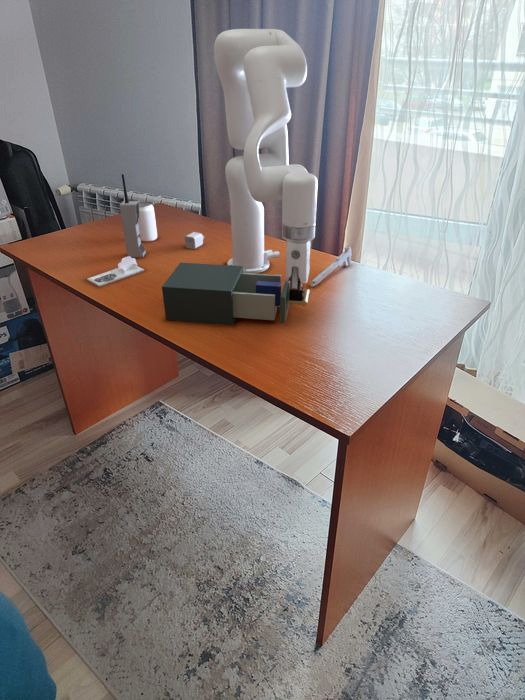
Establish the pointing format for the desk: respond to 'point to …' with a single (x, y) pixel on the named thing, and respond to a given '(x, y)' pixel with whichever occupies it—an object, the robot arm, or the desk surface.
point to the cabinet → (201, 293)
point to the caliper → (334, 265)
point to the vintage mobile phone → (131, 226)
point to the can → (147, 221)
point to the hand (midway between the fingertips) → (295, 302)
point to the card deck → (269, 289)
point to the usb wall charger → (194, 240)
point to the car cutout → (117, 272)
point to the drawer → (261, 298)
